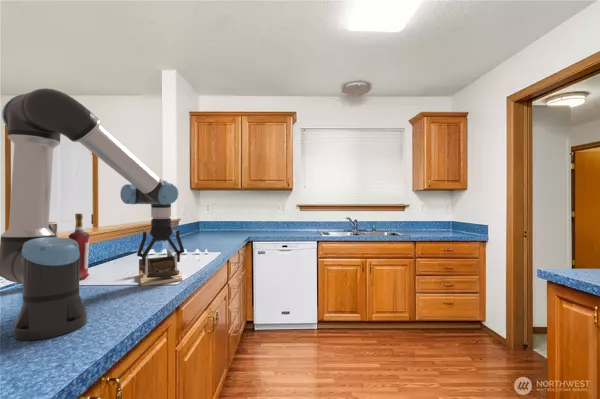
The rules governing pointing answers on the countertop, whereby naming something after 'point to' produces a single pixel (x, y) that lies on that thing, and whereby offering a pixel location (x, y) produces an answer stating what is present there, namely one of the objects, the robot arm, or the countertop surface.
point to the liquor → (81, 246)
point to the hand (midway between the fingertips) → (161, 271)
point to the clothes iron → (162, 272)
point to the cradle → (159, 266)
